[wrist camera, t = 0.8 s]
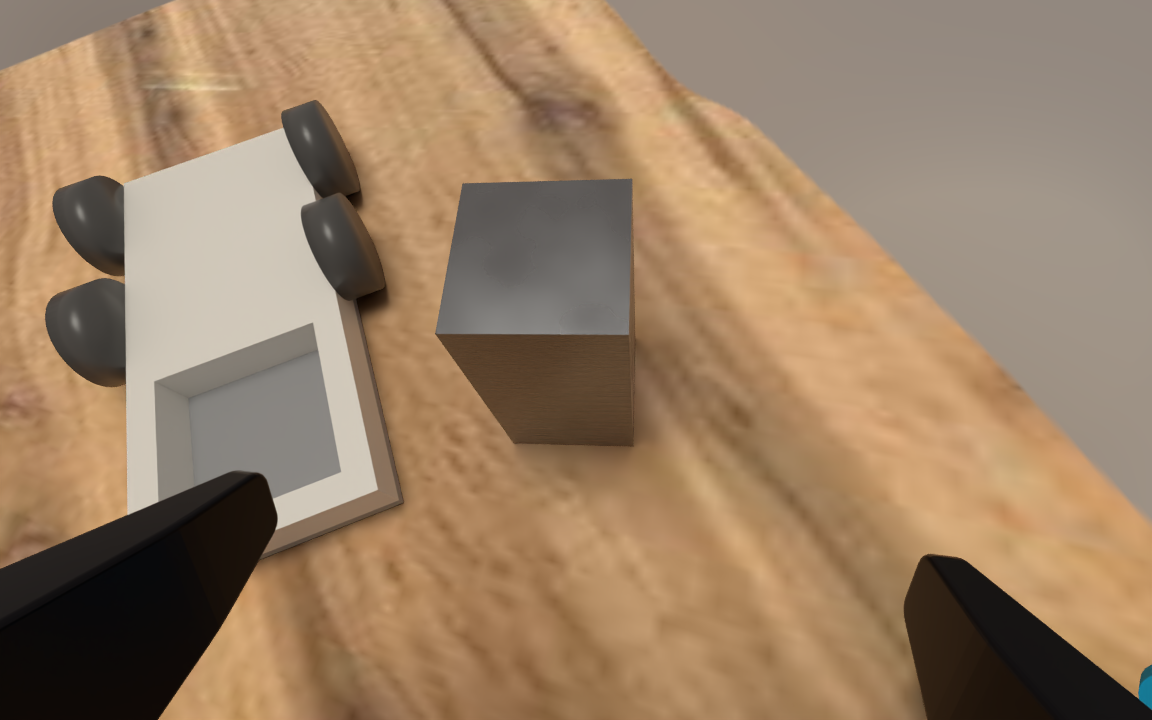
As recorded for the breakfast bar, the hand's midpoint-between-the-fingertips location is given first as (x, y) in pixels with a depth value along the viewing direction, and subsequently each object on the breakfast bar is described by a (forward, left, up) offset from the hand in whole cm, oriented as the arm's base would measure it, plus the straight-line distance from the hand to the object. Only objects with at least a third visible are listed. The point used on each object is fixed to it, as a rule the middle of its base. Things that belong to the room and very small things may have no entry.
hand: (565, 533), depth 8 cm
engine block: (+6, +6, -15) cm, 17 cm away
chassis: (-1, +20, -15) cm, 25 cm away
